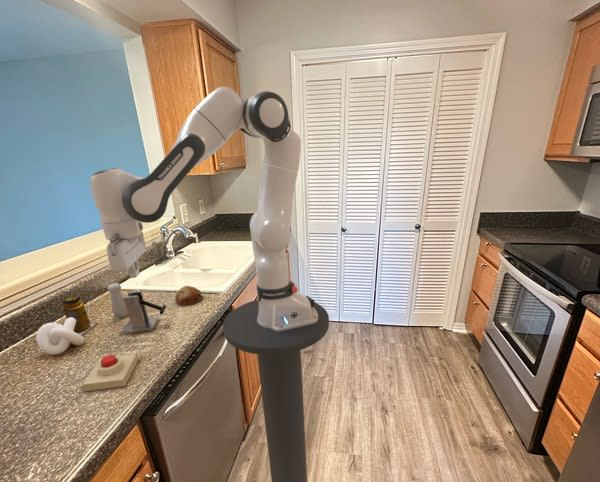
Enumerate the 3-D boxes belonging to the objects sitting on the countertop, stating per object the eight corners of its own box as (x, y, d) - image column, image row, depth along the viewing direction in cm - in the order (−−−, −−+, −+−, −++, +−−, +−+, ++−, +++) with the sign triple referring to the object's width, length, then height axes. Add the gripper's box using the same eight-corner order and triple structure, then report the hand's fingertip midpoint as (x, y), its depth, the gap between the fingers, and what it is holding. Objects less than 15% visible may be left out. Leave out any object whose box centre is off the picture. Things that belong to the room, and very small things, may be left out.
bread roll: (188, 302, 140) (177, 287, 138) (207, 293, 138) (196, 277, 135) (179, 313, 131) (167, 297, 129) (200, 303, 129) (188, 287, 126)
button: (119, 359, 91) (117, 354, 90) (114, 366, 88) (112, 361, 87) (105, 360, 91) (103, 355, 90) (100, 368, 87) (98, 363, 87)
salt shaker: (134, 313, 125) (125, 282, 120) (121, 320, 120) (111, 288, 115) (123, 311, 128) (114, 280, 122) (110, 317, 123) (100, 286, 118)
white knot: (97, 339, 108) (89, 316, 105) (64, 361, 98) (54, 335, 94) (72, 335, 111) (63, 312, 108) (37, 356, 101) (26, 331, 97)
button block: (138, 359, 97) (135, 348, 95) (125, 386, 86) (121, 373, 84) (103, 363, 96) (99, 352, 94) (84, 391, 85) (80, 379, 83)
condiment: (96, 323, 119) (86, 293, 114) (81, 335, 111) (70, 304, 106) (77, 324, 119) (66, 294, 114) (61, 336, 111) (49, 305, 107)
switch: (165, 309, 117) (167, 304, 116) (161, 316, 112) (164, 310, 112) (130, 297, 113) (133, 291, 112) (126, 303, 108) (128, 297, 108)
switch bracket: (158, 319, 119) (151, 288, 114) (153, 330, 112) (144, 297, 107) (130, 322, 118) (121, 291, 113) (122, 334, 111) (112, 300, 106)
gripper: (121, 238, 81) (136, 288, 87) (143, 221, 100) (154, 264, 105) (94, 240, 81) (111, 291, 86) (122, 223, 99) (134, 266, 105)
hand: (135, 276), depth 96 cm, fingers closed
